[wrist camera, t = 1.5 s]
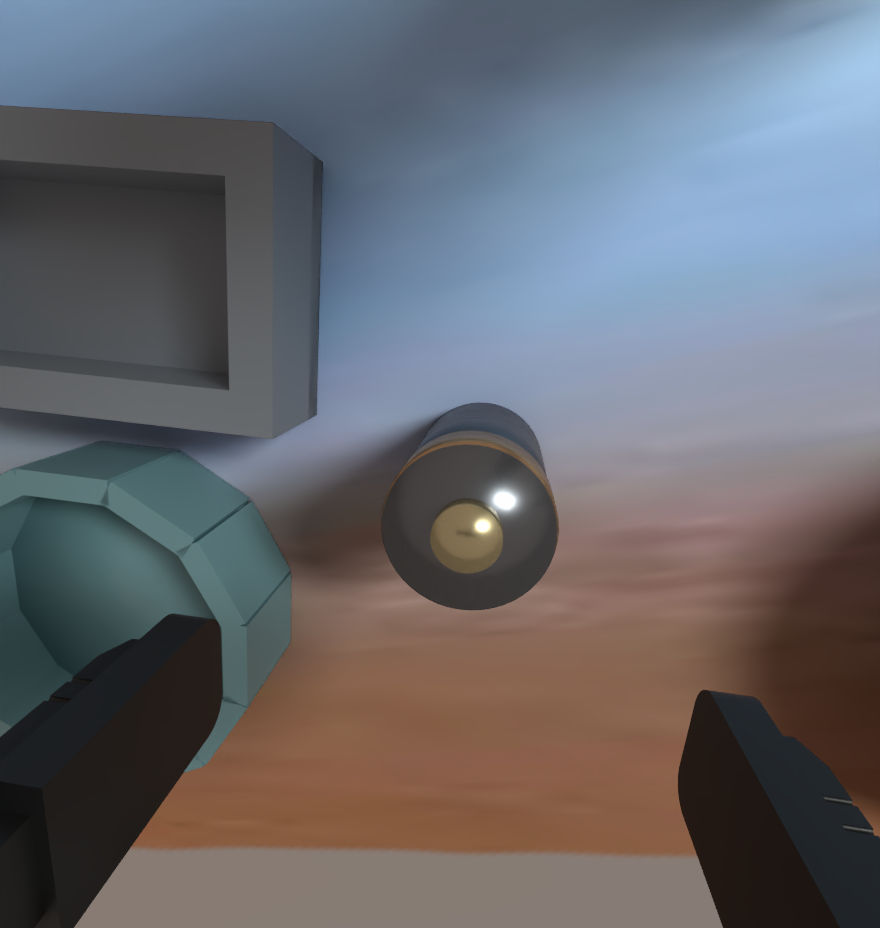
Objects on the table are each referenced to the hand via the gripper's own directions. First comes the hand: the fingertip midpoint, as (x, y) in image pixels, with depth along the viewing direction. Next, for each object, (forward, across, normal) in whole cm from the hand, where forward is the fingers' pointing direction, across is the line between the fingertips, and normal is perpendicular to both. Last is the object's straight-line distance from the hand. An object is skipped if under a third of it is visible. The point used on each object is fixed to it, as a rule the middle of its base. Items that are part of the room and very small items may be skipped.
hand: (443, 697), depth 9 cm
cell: (+14, 0, 0) cm, 14 cm away
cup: (+14, +15, +8) cm, 22 cm away
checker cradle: (+14, +15, -6) cm, 22 cm away
